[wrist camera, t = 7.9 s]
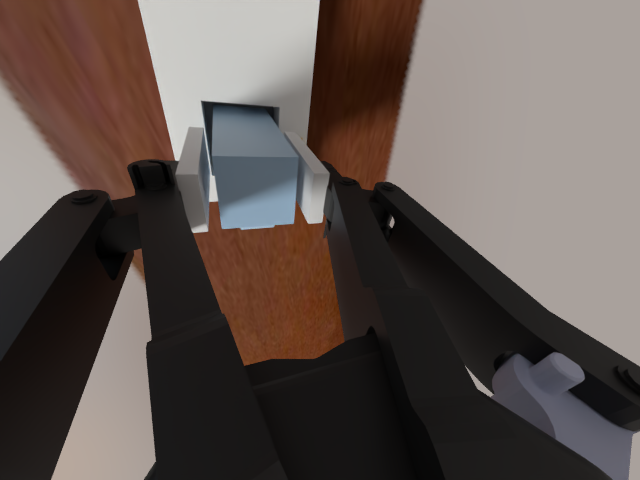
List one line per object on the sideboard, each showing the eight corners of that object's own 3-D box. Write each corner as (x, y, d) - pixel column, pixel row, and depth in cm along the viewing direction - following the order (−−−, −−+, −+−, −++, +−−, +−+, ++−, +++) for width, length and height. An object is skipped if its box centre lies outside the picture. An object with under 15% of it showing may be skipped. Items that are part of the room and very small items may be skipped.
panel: (72, -356, 8) (17, -508, 6) (320, -220, 11) (347, -288, 9) (188, 184, 20) (185, 203, 18) (293, 182, 23) (302, 198, 21)
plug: (213, 104, 17) (211, 156, 10) (265, 108, 18) (298, 157, 11) (220, 164, 20) (223, 240, 12) (265, 164, 21) (292, 234, 14)
